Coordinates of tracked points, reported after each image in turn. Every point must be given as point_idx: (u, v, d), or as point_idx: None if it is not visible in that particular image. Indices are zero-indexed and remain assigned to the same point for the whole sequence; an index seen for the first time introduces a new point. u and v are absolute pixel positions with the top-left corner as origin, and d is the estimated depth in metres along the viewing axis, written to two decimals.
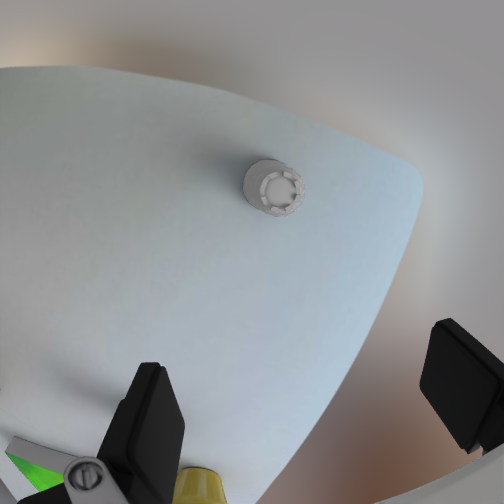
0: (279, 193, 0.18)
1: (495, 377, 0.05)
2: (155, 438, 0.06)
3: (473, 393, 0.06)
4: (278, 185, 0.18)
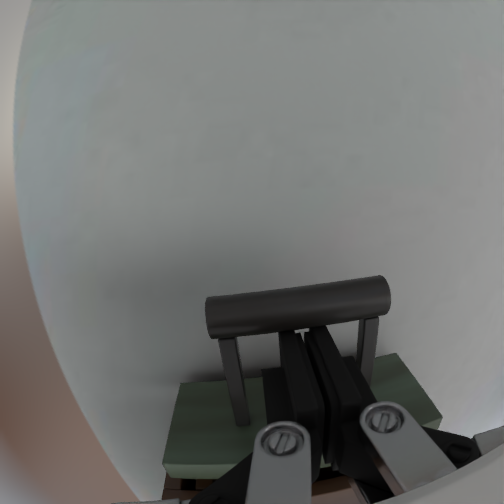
0: None
1: (336, 396, 0.06)
2: None
3: None
4: None
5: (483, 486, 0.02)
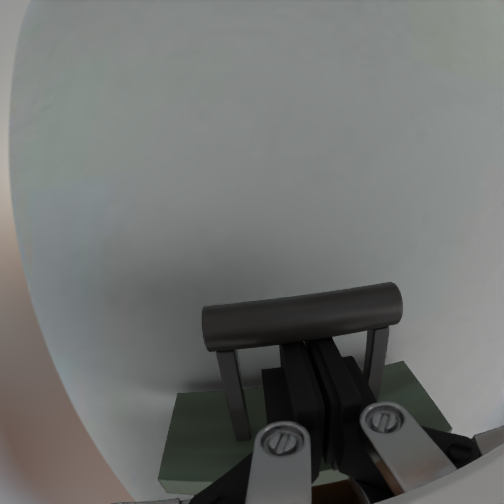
0: None
1: (336, 395, 0.06)
2: None
3: None
4: None
5: (483, 486, 0.02)
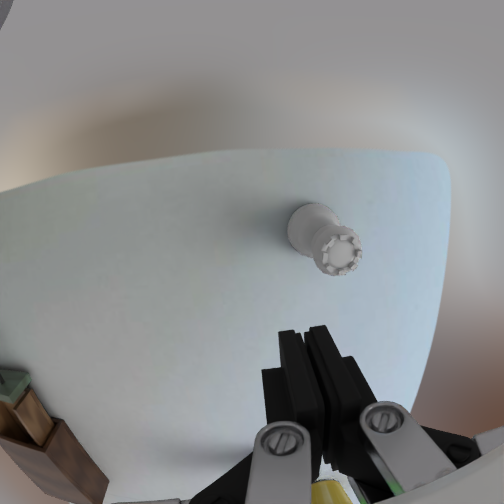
0: (340, 256, 0.18)
1: (336, 395, 0.06)
2: None
3: None
4: (338, 249, 0.18)
5: (483, 486, 0.02)
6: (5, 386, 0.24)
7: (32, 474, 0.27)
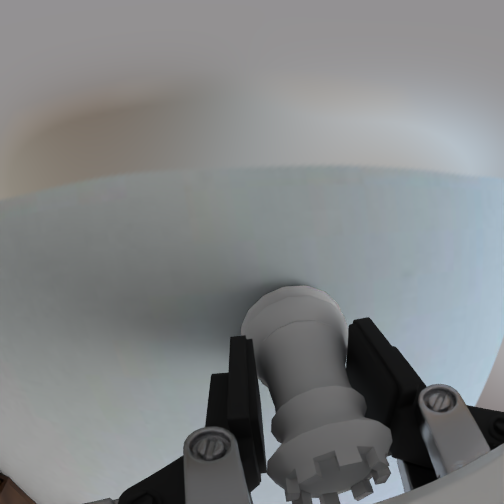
0: (335, 482, 0.05)
1: (394, 381, 0.07)
2: (258, 403, 0.08)
3: (377, 395, 0.07)
4: (330, 476, 0.05)
5: (483, 486, 0.02)
6: None
7: None
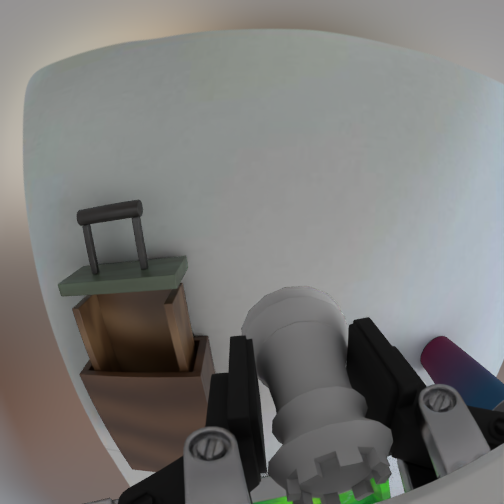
0: (336, 483, 0.05)
1: (394, 381, 0.06)
2: (258, 403, 0.08)
3: (377, 395, 0.07)
4: (331, 476, 0.05)
5: (483, 486, 0.02)
6: (155, 269, 0.24)
7: (130, 436, 0.26)
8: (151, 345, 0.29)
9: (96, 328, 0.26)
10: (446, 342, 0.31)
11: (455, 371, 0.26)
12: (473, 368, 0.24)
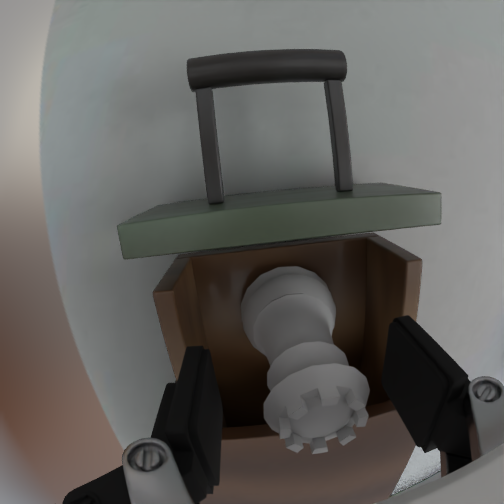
0: (321, 424, 0.07)
1: (445, 376, 0.06)
2: (207, 417, 0.07)
3: (424, 390, 0.07)
4: (316, 415, 0.07)
5: (483, 486, 0.02)
6: (375, 190, 0.11)
7: None
8: None
9: (196, 337, 0.13)
10: None
11: None
12: None
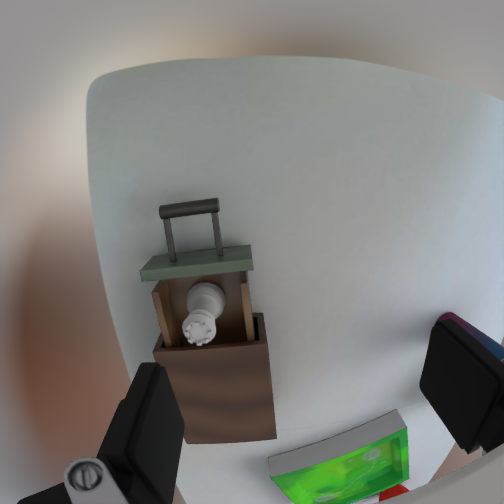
0: (198, 333, 0.27)
1: (495, 377, 0.05)
2: (155, 438, 0.06)
3: (473, 393, 0.06)
4: (195, 330, 0.27)
5: (483, 486, 0.02)
6: (230, 255, 0.31)
7: (193, 408, 0.33)
8: (215, 323, 0.35)
9: (168, 310, 0.32)
10: (454, 316, 0.37)
11: None
12: (477, 335, 0.31)
